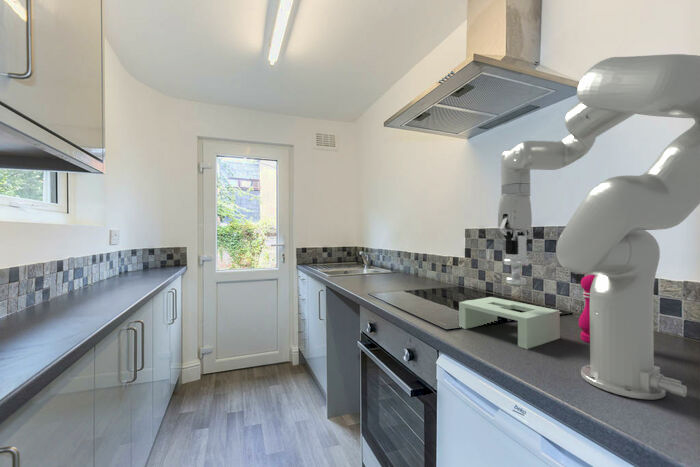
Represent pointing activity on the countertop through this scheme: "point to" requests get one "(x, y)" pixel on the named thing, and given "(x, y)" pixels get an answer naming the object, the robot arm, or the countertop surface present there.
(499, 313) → the keyhole bracket
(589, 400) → the countertop surface
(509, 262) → the steel peg
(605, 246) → the robot arm
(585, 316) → the pepper mill
